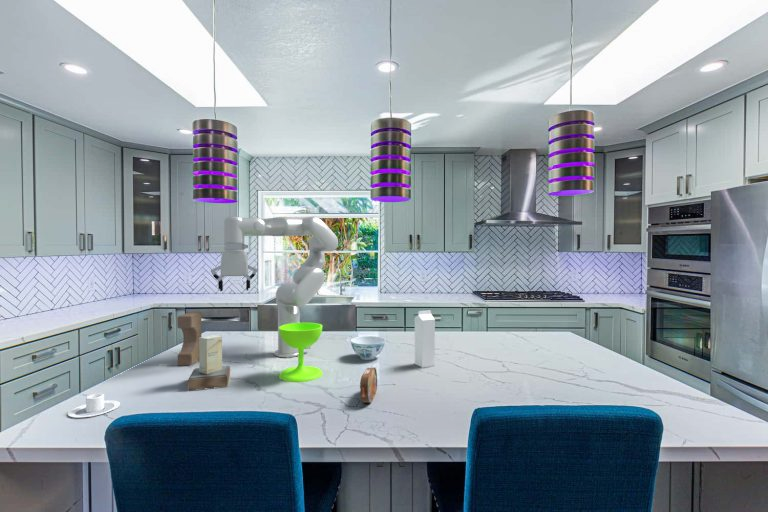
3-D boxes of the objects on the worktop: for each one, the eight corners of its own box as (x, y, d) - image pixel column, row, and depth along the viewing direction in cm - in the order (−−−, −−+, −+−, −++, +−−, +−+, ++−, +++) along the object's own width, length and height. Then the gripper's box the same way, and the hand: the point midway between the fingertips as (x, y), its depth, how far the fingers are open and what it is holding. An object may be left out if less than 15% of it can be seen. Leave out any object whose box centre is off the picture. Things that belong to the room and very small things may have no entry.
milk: (414, 363, 155) (414, 310, 155) (427, 362, 157) (426, 309, 157) (422, 367, 149) (422, 312, 149) (435, 365, 152) (434, 311, 152)
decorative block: (191, 365, 152) (191, 316, 152) (176, 366, 151) (176, 316, 151) (202, 358, 163) (202, 311, 163) (188, 358, 162) (188, 312, 162)
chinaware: (391, 356, 166) (391, 338, 166) (372, 364, 153) (372, 345, 153) (363, 351, 174) (363, 334, 174) (343, 359, 161) (343, 341, 161)
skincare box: (206, 374, 128) (206, 339, 128) (198, 372, 131) (198, 337, 130) (222, 369, 134) (222, 335, 133) (215, 367, 136) (215, 334, 136)
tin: (369, 407, 111) (369, 379, 111) (358, 406, 112) (358, 378, 112) (378, 389, 126) (378, 364, 126) (368, 388, 127) (368, 363, 127)
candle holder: (103, 419, 104) (103, 403, 104) (56, 420, 103) (56, 405, 103) (128, 402, 116) (128, 388, 116) (87, 403, 115) (86, 389, 115)
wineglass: (331, 374, 141) (331, 326, 141) (294, 385, 129) (294, 333, 129) (306, 365, 152) (306, 321, 152) (270, 375, 140) (270, 326, 140)
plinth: (229, 375, 140) (229, 364, 140) (227, 386, 128) (227, 374, 128) (193, 379, 136) (193, 368, 136) (188, 390, 124) (188, 378, 124)
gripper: (257, 247, 157) (257, 289, 157) (211, 247, 152) (212, 290, 152) (257, 247, 150) (257, 290, 150) (209, 247, 145) (209, 292, 145)
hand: (234, 290), depth 151 cm, fingers open, 9 cm apart
